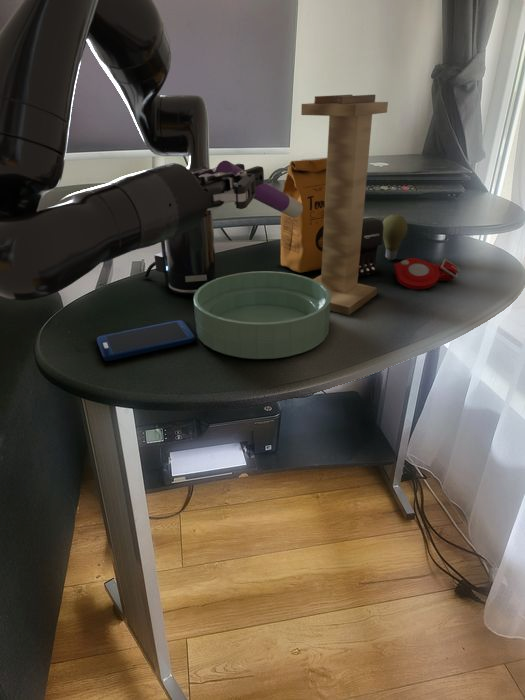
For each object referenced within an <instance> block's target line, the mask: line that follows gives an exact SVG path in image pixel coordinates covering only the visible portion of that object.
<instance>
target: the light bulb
mask: <svg viewBox="0 0 525 700" xmlns="http://www.w3.org/2000/svg"><path fill="white" fill-rule="evenodd" d="M382 222H383V226H384V230H383V242H384V248H385V258H386V259H387V260H388V261H391V262H392V261H393V260H395V259H397V256H398V250H399V248H400V246H401V243H402V242H403V240H404V238H405V236H406V235H407V232H408V229H409V226H407V225H408V222H407V220H406V219H405V218H404V217H403V216H402V215H401V214H396V213H395V214H390V215H388V216H387V217H385V218H384V219H383V221H382Z"/></svg>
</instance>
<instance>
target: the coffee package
mask: <svg viewBox="0 0 525 700" xmlns="http://www.w3.org/2000/svg"><path fill="white" fill-rule="evenodd" d="M326 172H327V157H325V158H319V159H318V158H317V159H309V160H308V159H305V160H303V159H302V160H291V161H290V162H289V164H288V168H287V172H286V178H285V181H284V183H283V188H282V192H283V193H285V194H287V195H288V196H290V197H292V198H294V199H295V200H297V201H299V202H300V203H301V204H302V206H303V211H302V213H301V215H300V216H299V217H297V218H292V217H290V216H288V215H286V214H284V213H282V212H280V266H282V267H285V268H288V269H290V270H291V271H293V272H296V273H299V274H303V273H309V272H314V271H322V254H323V233H324V213H325V192H326Z"/></svg>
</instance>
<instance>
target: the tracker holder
mask: <svg viewBox="0 0 525 700" xmlns="http://www.w3.org/2000/svg"><path fill="white" fill-rule="evenodd" d="M393 266H394V275H395V278H396V280H397V282H398V283H399V284H400V285H402V286H403V287H405V288H408V289H411V290H426V289H429V288H431V287H434V286H435V285H436V284H437V282H438V281H443V282H444V281H451V280H454V279H458V276H459V274H460V272H461V271H460V270H461V268H460V267H458V266H457V265H455V264H454V263H453V262H451V261H449V260H448V259H447V258H443V260H442V262H440V263H439V264H434V263H432V262H429V261H427V260H423V259H420V258H416V257H408V258H406V259H403V260H401V261H399V262H396V263H394V264H393Z"/></svg>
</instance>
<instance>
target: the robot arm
mask: <svg viewBox="0 0 525 700" xmlns="http://www.w3.org/2000/svg"><path fill="white" fill-rule="evenodd" d="M87 44H88V46H89V47H90V50H91V52H92V53H93V55H94V56H95V58H96V59H97V61H98V63H99V65H100V66H101V67H102V69H103V70H104V72H105V73H106V74H107V76H108V77H109V79H110V80H111V82H112V83H113V85H114V86H115V88H116V90H117V91H118V93H119V94H120V96H121V98H122V99H123V101H124V103H125V104H126V106H127V108H128V110H129V112H130V115H131V117H132V119H133V122H134V123H135V126H136V127H137V130H138V131H139V134H140V136H141V138H142V140H143V142H144V144H145V145H146V147H147V148H148V150H149V151H150V152H151V153H153V154H154V155H156V156H161V157H188V164H187V166H184V165H183V164H180V163H176V162H172V163H171V162H170V163H167V164H163V165H160V166H156V167H152V168H148V169H144V170H142V171H138V172H134V173H130V174H127V175H124V176H120V177H119V178H116V179H114V180H112V181H110V182H107V183H104V184H100V185H97V186H94V187H90V188H86V189H82V190H80V191H76V192H73V193H71V194H68V195H66V196H64V197H63V198H61V199H60V200H59V202H57V203H56V205H54V206H50V207H47V208H44V209H40V210H39V208H40V204H41V202H42V199H43V198H44V196H46V195H47V194H48V193H50V192H52V191H54V190H55V189H57V187H58V186H59V185H60V183H61V181H62V179H63V175H64V171H65V163H66V154H67V148H68V141H69V140H68V139H69V134H70V133H69V132H70V127H71V126H70V124H71V118H72V117H71V115H72V109H73V108H72V107H73V102H74V98H75V97H74V95H75V90H76V84H77V80H78V75H79V70H80V66H81V63H82V59H83V55H84V51H85V48H86V45H87ZM172 62H173V49H172V45H171V41H170V38H169V35H168V33H167V30H166V27H165V25H164V22H163V19H162V17H161V14H160V12H159V10H158V7H157V5H156V3H155V1H154V0H22V2H21V3H20V4H19V6H18V7H17V8H16V10H15V11H14V12H13V14H12V15H11V16H10V18H9V19H8V20H7V21H6V23H5V24H4V26H3V27H2V29H1V30H0V297H2V298H6V299H9V300H13V301H32V300H37V299H42V298H44V297H49V296H51V295H54V294H56V293H58V292H60V291H63V290H64V289H66V288H68V287H69V286H71V285H73V284H74V283H76V282H77V281H78V280H80V279H81V278H83V277H84V276H85V275H87V274H89V273H90V272H91V271H92V270H94V269H95V268H96V267H98V266H99V265H100V264H102V263H105V262H108V261H111V260H114V259H116V258H119V257H121V256H124V255H126V254H129V253H131V252H133V251H136V250H140V249H145V248H150V247H152V246H155V245H157V244H160V247H161V252H159V253H156V254H154V261H153V262H152V263H151V264H149V266H148V267H147V269H146V271H145V273H144V277H145V278H148V277H149V276H150V273H151V271H152V270H153V268H154V267H155V271H156V272H159V273H163V274H164V281H165V287H166V288H168V289H169V291H170V292H171V293H173V294H176V295H180V296H194V295H195V293H196V291H197V290H198V289H199V288H200V287H201V286H203V285H204V284H206V283H208V282H210V281H212V280H214V279H217V263H216V248H215V247H216V246H215V234H214V233H215V231H214V230H215V229H214V215H213V210H217V209H218V208H219V207H221V206H223V205H227V204H228V203H232V202H233V203H234V205H235V208H236V209H239V210H243V209H246V208H248V206H249V205H250V204H251V202H252V201H254V197H255V196H256V190H255V187H256V186H258V185H261V184H263V182H265V174H264V173H265V171H264V167H263V166H260V165H256V166H253V167H250V168H247V169H245V168H246V167H245V164H243V163H236V164H234V165H236V166H238V167H239V168H241V169H243V170H244V171H240V172H236V173H232V172H227V171H223V172H219V173H215V171H216V168H217V166H215V167H214V168H210V166H211V165H210V119H209V110H208V107H207V103H206V102H205V100H204V98H203V97H201V96H200V95H197V94H166V95H164V94H163V95H161V94H160V95H159V93H160V92H161V90H162V88H163V87H164V85H165V82H166V81H167V79H168V77H169V74H170V71H171V68H172ZM236 179H237V180H238V183H235V180H236Z"/></svg>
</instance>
